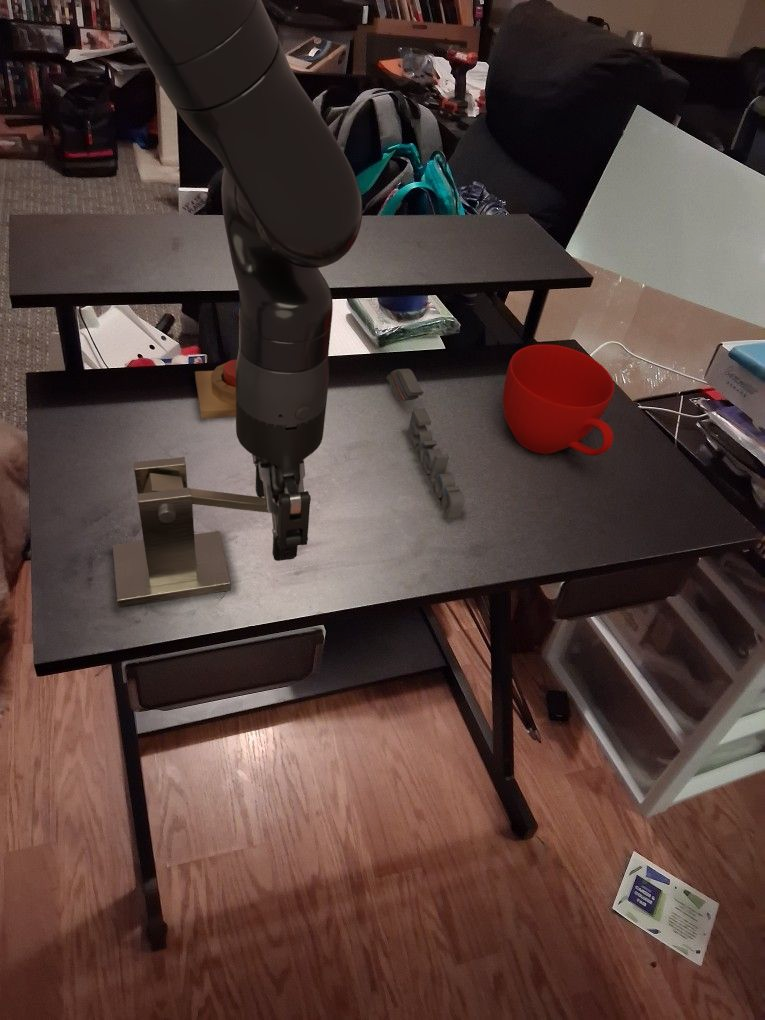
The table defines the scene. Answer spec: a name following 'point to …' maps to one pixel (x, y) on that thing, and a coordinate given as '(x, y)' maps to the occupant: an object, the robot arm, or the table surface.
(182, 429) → the table surface
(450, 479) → the block letters
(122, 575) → the bracket
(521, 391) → the ceramic cup
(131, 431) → the table surface
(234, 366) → the button
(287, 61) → the robot arm
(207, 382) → the switch block
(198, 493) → the lever
